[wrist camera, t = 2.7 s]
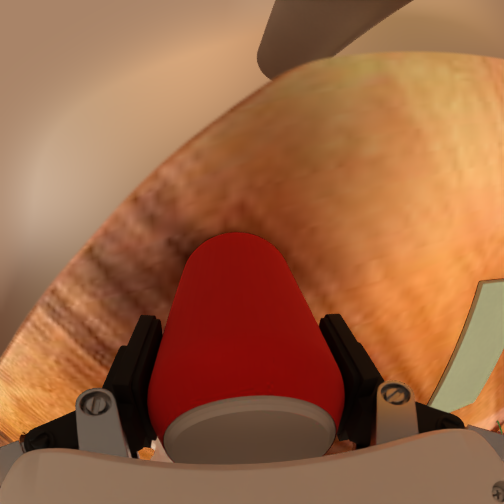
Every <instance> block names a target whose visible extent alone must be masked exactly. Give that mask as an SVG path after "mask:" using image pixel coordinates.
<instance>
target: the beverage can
mask: <svg viewBox="0 0 504 504" xmlns="http://www.w3.org/2000/svg"><path fill="white" fill-rule="evenodd" d="M344 401H345V391H344V383H343V379H342V375H341V372H340V370H339V368H338V365H337V363H336V361H335V359H334V357H333V355H332V353H331V351H330V349H329V347H328V345H327V343H326V341H325V339H324V337H323V335H322V333H321V331H320V328H319V326H318V324H317V322H316V320H315V318H314V316H313V314H312V312H311V310H310V308H309V306H308V304H307V302H306V300H305V298H304V296H303V294H302V292H301V291H300V289H299V287H298V285H297V283H296V281H295V279H294V277H293V275H292V273H291V271H290V269H289V267H288V265H287V263H286V261H285V259H284V257H283V256H282V254H281V253H280V252H279V251H278V249H277V248H276V247H274V246H273V245H272V244H271V243H270V242H268V241H267V240H265V239H263V238H261V237H259V236H256V235H254V234H250V233H244V232H231V233H225V234H221V235H218V236H215V237H213V238H211V239H209V240H207V241H205V242H204V243H202V244H201V245H200V246H199V247H198V248H197V249H196V250H195V251H194V252H193V253H192V254H191V256H190V257H189V259H188V260H187V262H186V265H185V267H184V270H183V273H182V276H181V279H180V282H179V285H178V288H177V291H176V294H175V297H174V300H173V304H172V307H171V310H170V313H169V316H168V320H167V323H166V326H165V330H164V333H163V336H162V340H161V343H160V347H159V350H158V354H157V357H156V361H155V364H154V368H153V371H152V375H151V379H150V383H149V387H148V394H147V406H148V414H149V418H150V421H151V424H152V427H153V429H154V431H155V433H156V435H157V437H158V439H159V441H160V443H161V445H162V447H163V448H164V450H165V452H166V454H167V456H168V457H169V458H170V459H171V460H172V462H173V463H185V464H214V465H230V464H258V463H272V462H284V461H293V460H301V459H309V458H316V457H322V456H324V455H325V454H326V453H327V451H328V450H329V449H330V448H331V446H332V444H333V442H334V440H335V437H336V434H337V431H338V427H339V424H340V420H341V417H342V413H343V409H344Z"/></svg>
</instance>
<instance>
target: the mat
mask: <svg viewBox="0 0 504 504" xmlns="http://www.w3.org/2000/svg"><path fill="white" fill-rule="evenodd" d="M503 349H504V279H498V280H488V281H479V284H478V288H477V291H476V294H475V297H474V300H473V303H472V306H471V309H470V312H469V315H468V318H467V320H466V323H465V326H464V328H463V331H462V333H461V336H460V338H459V341H458V343H457V345H456V348H455V350H454V352H453V355H452V357H451V359H450V361H449V363H448V366H447V368H446V370H445V372H444V374H443V376H442V378H441V380H440V382H439V384H438V386H437V388H436V390H435V392H434V393H433V395H432V397H431V399H430V401H429V403H428V404H427V406H430V407H433V408H436V409H438V410H441V411H444V412H448V413H450V412H452V411H455V410H457V409H459V408H462V407H464V406H466V405H469V404H471V403H473V402H475V400H476V398H477V397H478V395H479V394H480V392H481V390H482V388H483V387H484V385H485V383H486V381H487V380H488V378H489V376H490V374H491V372H492V371H493V369H494V367H495V365H496V363H497V361H498V359H499V357H500V355H501V353H502V351H503Z"/></svg>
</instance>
